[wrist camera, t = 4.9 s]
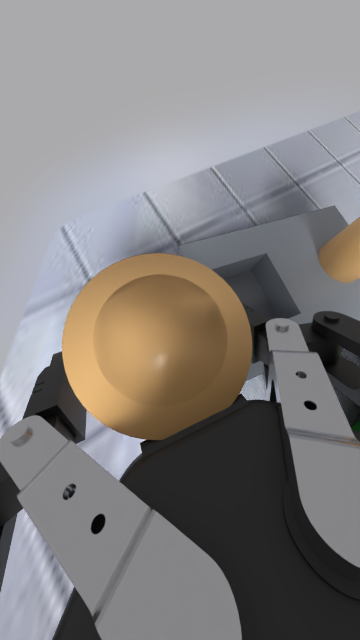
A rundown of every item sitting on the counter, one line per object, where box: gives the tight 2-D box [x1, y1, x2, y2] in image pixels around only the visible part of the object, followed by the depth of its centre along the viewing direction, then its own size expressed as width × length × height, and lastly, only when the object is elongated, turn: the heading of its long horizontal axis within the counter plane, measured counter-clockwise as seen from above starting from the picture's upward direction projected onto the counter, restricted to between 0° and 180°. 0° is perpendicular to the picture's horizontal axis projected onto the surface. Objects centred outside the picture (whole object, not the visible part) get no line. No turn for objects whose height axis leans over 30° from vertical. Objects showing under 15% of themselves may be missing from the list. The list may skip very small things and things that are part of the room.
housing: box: [177, 206, 360, 381], centre depth 14 cm, size 16×11×10 cm, turn 112°
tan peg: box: [62, 253, 252, 440], centre depth 11 cm, size 6×6×10 cm
